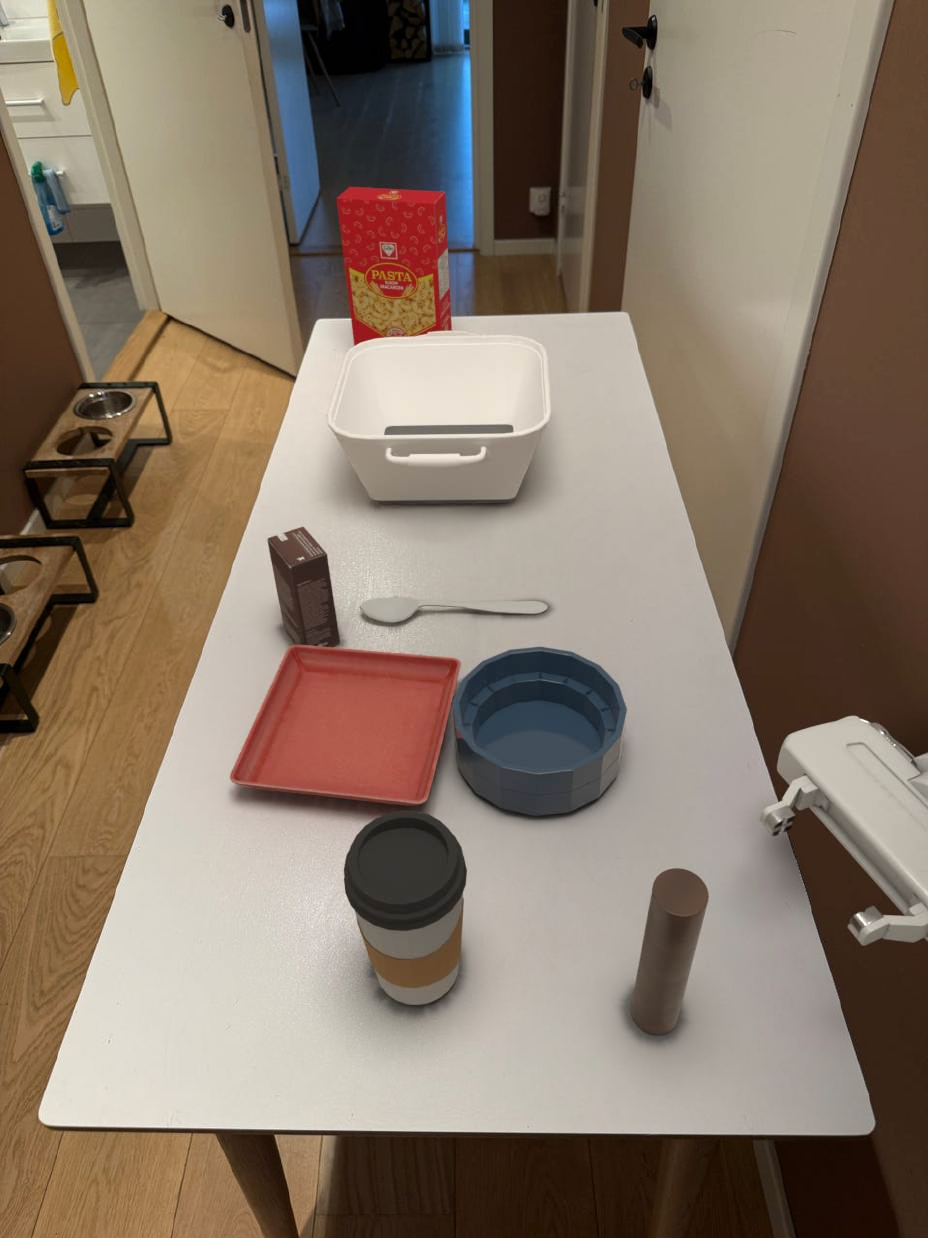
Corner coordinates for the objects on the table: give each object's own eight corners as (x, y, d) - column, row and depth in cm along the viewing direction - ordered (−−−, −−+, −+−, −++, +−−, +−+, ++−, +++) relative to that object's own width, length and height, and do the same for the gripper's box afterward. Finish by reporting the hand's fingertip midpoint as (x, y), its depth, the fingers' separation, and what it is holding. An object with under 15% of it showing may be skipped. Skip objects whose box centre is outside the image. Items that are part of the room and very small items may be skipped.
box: (343, 642, 99) (328, 553, 91) (305, 658, 97) (286, 569, 89) (319, 612, 103) (303, 523, 95) (282, 627, 101) (262, 538, 93)
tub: (551, 544, 110) (554, 451, 102) (329, 546, 112) (314, 454, 103) (543, 406, 136) (545, 322, 127) (362, 408, 137) (352, 326, 129)
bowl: (650, 740, 87) (657, 693, 83) (559, 850, 78) (562, 802, 74) (519, 673, 94) (520, 625, 90) (423, 766, 86) (418, 718, 82)
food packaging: (356, 360, 149) (336, 198, 133) (367, 346, 153) (349, 186, 136) (443, 369, 146) (434, 203, 129) (452, 354, 150) (445, 191, 133)
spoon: (362, 604, 104) (360, 592, 102) (545, 595, 103) (546, 584, 102) (359, 628, 100) (358, 617, 99) (549, 620, 100) (549, 609, 99)
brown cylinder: (686, 1008, 68) (718, 887, 57) (663, 1045, 66) (692, 926, 55) (645, 981, 70) (669, 858, 59) (622, 1016, 68) (642, 896, 57)
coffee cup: (380, 911, 75) (360, 796, 65) (481, 928, 73) (477, 813, 63) (350, 1010, 69) (323, 900, 59) (460, 1031, 67) (451, 922, 57)
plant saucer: (233, 803, 83) (225, 780, 81) (293, 664, 97) (288, 641, 94) (429, 827, 81) (426, 804, 78) (464, 681, 94) (462, 657, 92)
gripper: (874, 683, 73) (727, 740, 69) (1101, 893, 59) (931, 979, 55) (854, 736, 77) (714, 793, 73) (1062, 944, 63) (902, 1027, 59)
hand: (809, 874), depth 64 cm, fingers open, 8 cm apart
